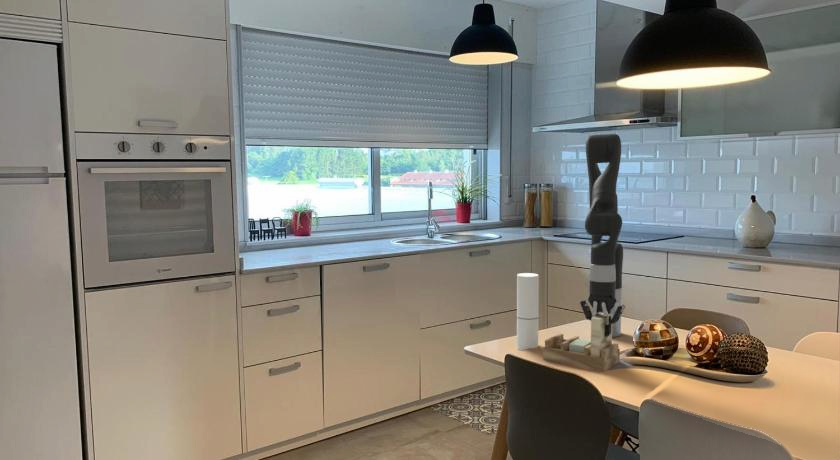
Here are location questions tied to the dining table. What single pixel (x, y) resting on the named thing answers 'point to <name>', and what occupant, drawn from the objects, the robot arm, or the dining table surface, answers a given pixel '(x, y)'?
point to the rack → (579, 354)
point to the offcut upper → (579, 345)
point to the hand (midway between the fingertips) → (601, 335)
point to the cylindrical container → (527, 310)
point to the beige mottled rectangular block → (599, 335)
